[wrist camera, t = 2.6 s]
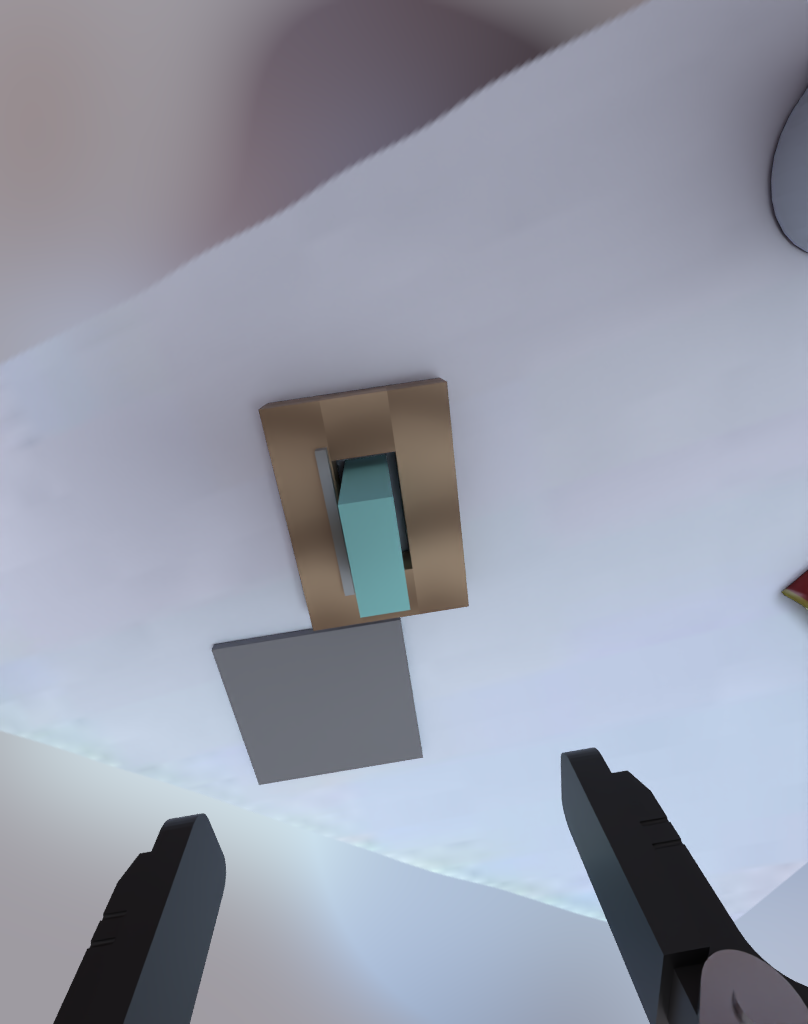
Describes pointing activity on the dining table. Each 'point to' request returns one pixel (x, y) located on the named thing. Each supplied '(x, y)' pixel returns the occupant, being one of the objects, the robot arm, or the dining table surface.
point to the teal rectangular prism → (372, 536)
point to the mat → (322, 699)
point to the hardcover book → (799, 590)
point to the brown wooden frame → (316, 488)
